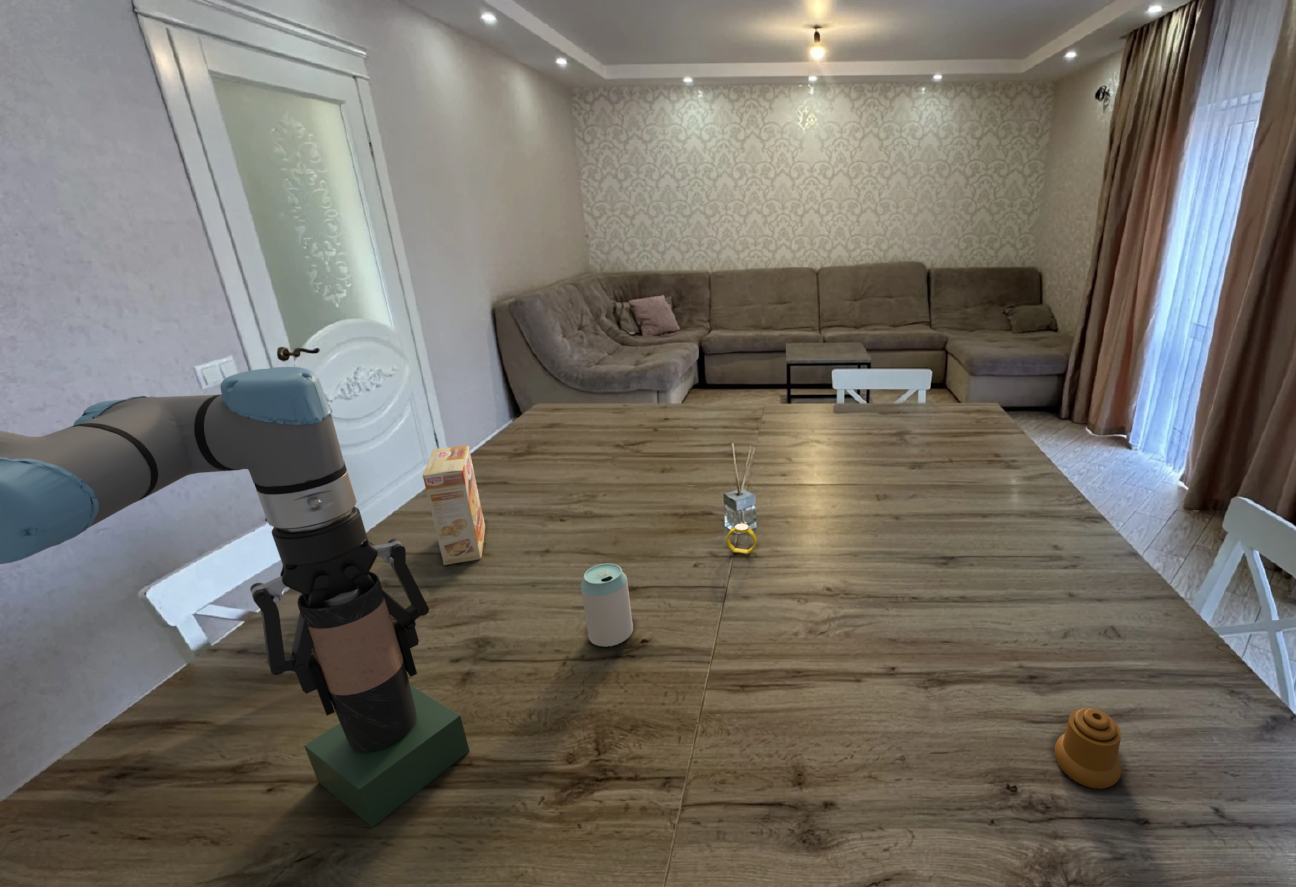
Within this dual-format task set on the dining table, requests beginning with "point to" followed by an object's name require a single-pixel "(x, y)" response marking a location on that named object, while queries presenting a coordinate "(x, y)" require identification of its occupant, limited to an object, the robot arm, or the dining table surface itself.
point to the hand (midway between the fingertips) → (370, 688)
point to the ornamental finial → (1090, 749)
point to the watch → (741, 529)
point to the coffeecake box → (455, 504)
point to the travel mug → (362, 667)
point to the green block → (389, 761)
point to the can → (606, 605)
